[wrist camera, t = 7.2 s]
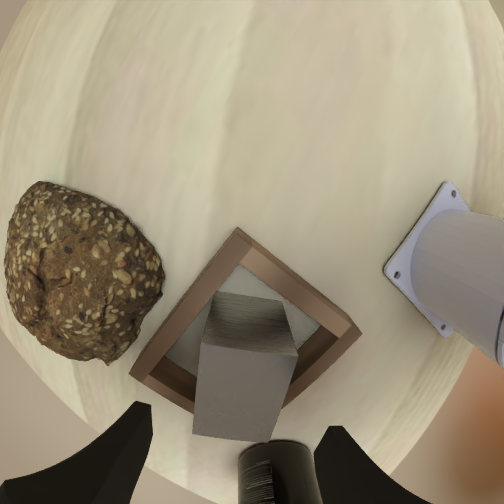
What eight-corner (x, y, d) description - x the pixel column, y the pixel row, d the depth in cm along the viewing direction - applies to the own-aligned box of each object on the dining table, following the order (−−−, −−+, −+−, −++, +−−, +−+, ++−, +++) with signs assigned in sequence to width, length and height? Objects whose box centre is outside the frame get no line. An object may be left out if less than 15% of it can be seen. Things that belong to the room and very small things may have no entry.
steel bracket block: (215, 290, 16) (200, 343, 11) (281, 300, 17) (298, 356, 11) (204, 369, 18) (192, 433, 12) (262, 377, 18) (268, 442, 12)
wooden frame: (348, 315, 17) (362, 333, 14) (242, 414, 19) (242, 438, 16) (237, 226, 16) (235, 233, 13) (140, 353, 17) (128, 373, 15)
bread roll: (45, 158, 14) (-3, 156, 10) (188, 247, 16) (164, 272, 11) (11, 300, 17) (-25, 323, 12) (121, 384, 18) (98, 425, 14)
